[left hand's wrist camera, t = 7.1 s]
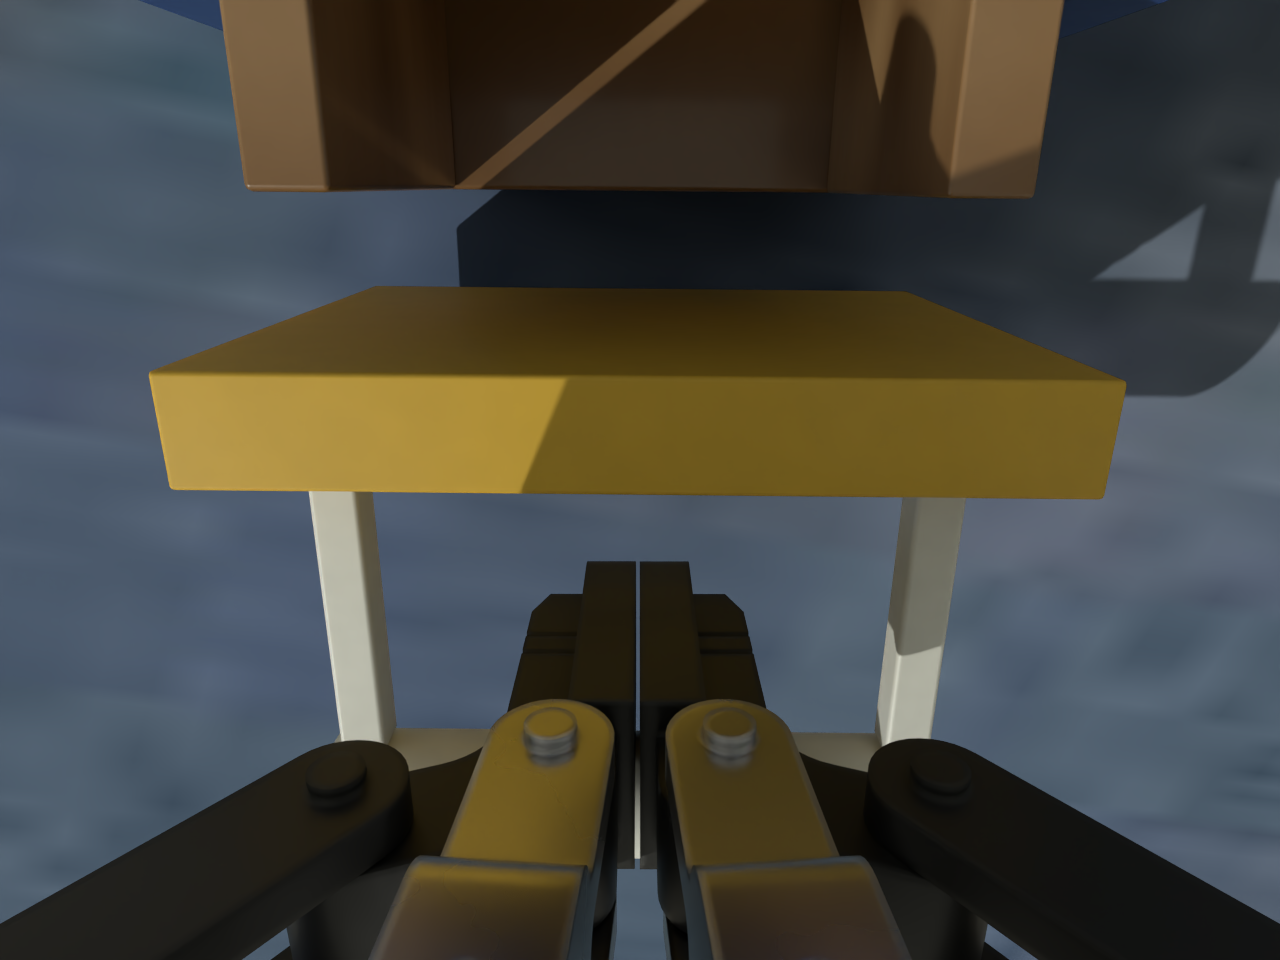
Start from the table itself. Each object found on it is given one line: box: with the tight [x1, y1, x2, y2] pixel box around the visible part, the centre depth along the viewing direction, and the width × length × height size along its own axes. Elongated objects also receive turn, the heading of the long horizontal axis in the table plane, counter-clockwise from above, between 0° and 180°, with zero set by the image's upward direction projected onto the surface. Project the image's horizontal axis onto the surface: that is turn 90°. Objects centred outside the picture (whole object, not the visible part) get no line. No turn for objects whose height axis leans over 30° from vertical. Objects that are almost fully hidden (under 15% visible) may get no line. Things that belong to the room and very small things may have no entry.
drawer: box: [149, 0, 1126, 858], centre depth 10 cm, size 22×9×7 cm, turn 0°
